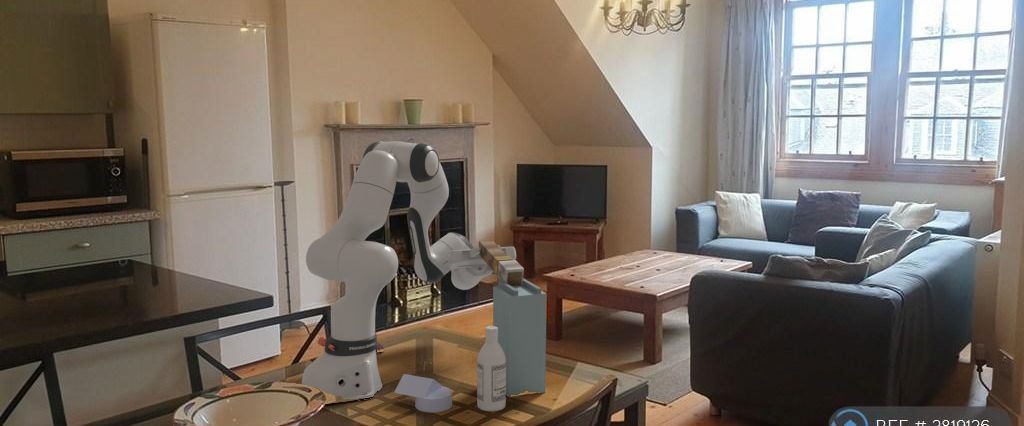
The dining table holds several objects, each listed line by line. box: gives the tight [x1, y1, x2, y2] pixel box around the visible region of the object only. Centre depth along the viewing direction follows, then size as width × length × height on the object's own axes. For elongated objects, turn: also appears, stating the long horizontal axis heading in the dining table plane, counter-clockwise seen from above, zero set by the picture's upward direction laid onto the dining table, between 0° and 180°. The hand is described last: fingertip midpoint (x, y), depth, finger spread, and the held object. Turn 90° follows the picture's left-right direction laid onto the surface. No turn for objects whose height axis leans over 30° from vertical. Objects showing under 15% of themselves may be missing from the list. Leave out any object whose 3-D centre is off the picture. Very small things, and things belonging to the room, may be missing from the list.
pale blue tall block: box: [492, 278, 547, 397], centre depth 203 cm, size 12×10×27 cm
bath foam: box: [476, 325, 507, 413], centre depth 190 cm, size 7×7×20 cm
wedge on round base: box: [393, 373, 453, 413], centre depth 193 cm, size 9×7×13 cm
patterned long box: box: [478, 239, 525, 286], centre depth 215 cm, size 24×5×5 cm, turn 21°
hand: (488, 248), depth 223 cm, fingers closed on patterned long box, 4 cm apart
